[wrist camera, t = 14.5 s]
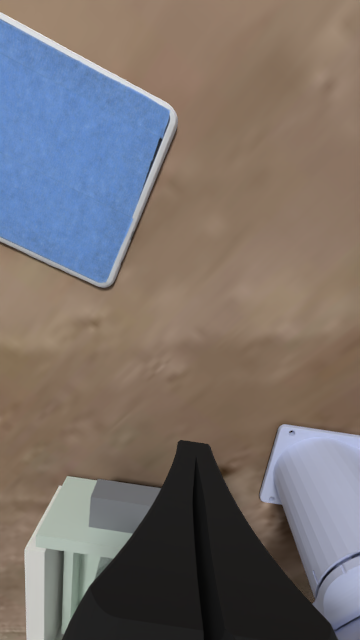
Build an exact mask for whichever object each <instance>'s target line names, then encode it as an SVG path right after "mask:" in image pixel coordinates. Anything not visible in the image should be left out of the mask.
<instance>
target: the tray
mask: <svg viewBox="0 0 360 640" xmlns="http://www.w3.org/2000/svg"><path fill="white" fill-rule="evenodd" d="M160 490H161V488H156V487H149V486H142V485H136V484H129V483H122V482H116V481H109V480H102V479H98V480H90V479H84V478H77V477H70V476H67V478H66V480H65V481H64V483H63V485H62V487H61V489H60V491H59V493H58V495H57V496H56V498H55V500H54V502H53V504H52V506H51V508H50V509H49V511H48V513H47V515H46V517H45V519H44V521H43V523H42V524H41V526H40V528H39V530H38V532H37V534H36V547H40V548H47V549H54V550H60V551H64V572H63V602H62V634H64V633H65V631H66V629H67V627H68V624H69V622H70V620H71V618H72V616H73V614H74V612H75V611H76V609H77V607H78V605H79V603H80V601H81V600H82V598H83V596H84V595H85V593H86V591H87V589H88V588H89V586H90V585H91V584H92V582H93V581H94V579H95V575H96V572H97V568H98V564H99V560H100V557H107V558H115V556H116V555H117V554H118V553H119V551H120V550H121V549H122V547H123V546H124V545H125V544H126V542H127V541H128V540H129V539H130V537H131V536H132V534H133V533H134V532H135V530H136V529H137V527H138V526H139V524H140V523H141V521H142V520H143V519H144V517H145V516H146V514H147V512H148V511H149V509H150V508H151V506H152V504H153V503H154V501H155V499H156V497H157V495H158V494H159V492H160Z"/></svg>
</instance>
